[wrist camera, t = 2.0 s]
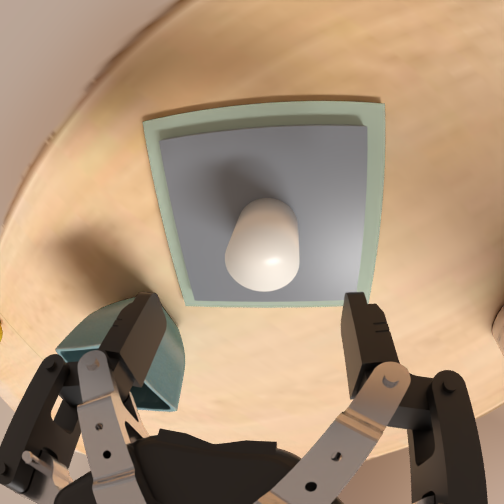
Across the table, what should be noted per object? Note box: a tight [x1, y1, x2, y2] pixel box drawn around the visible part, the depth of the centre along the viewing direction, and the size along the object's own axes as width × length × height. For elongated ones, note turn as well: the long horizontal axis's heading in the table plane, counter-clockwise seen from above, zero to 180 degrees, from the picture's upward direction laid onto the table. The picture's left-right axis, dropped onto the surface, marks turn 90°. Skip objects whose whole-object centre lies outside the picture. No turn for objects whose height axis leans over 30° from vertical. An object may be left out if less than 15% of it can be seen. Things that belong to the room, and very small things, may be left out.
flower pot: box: [55, 297, 185, 412], centre depth 24 cm, size 9×9×9 cm
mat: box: [143, 101, 385, 308], centre depth 20 cm, size 16×16×1 cm
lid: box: [159, 124, 368, 302], centre depth 18 cm, size 13×13×5 cm
